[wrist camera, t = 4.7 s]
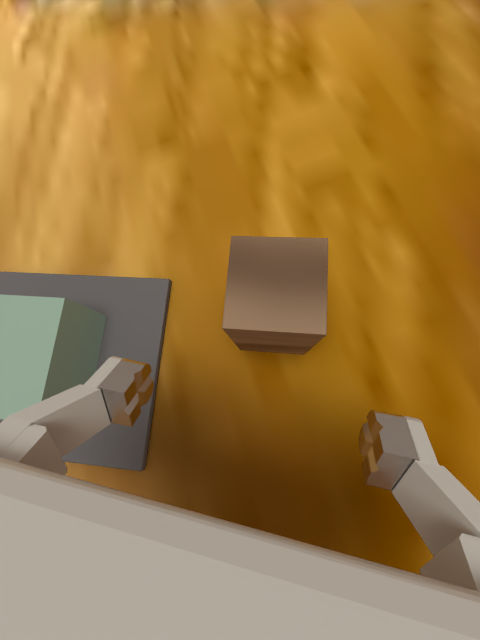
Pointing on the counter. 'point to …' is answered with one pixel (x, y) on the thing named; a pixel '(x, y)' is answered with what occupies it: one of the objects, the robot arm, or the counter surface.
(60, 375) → the sage brick
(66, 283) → the mat
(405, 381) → the counter surface
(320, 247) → the walnut block
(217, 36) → the counter surface
